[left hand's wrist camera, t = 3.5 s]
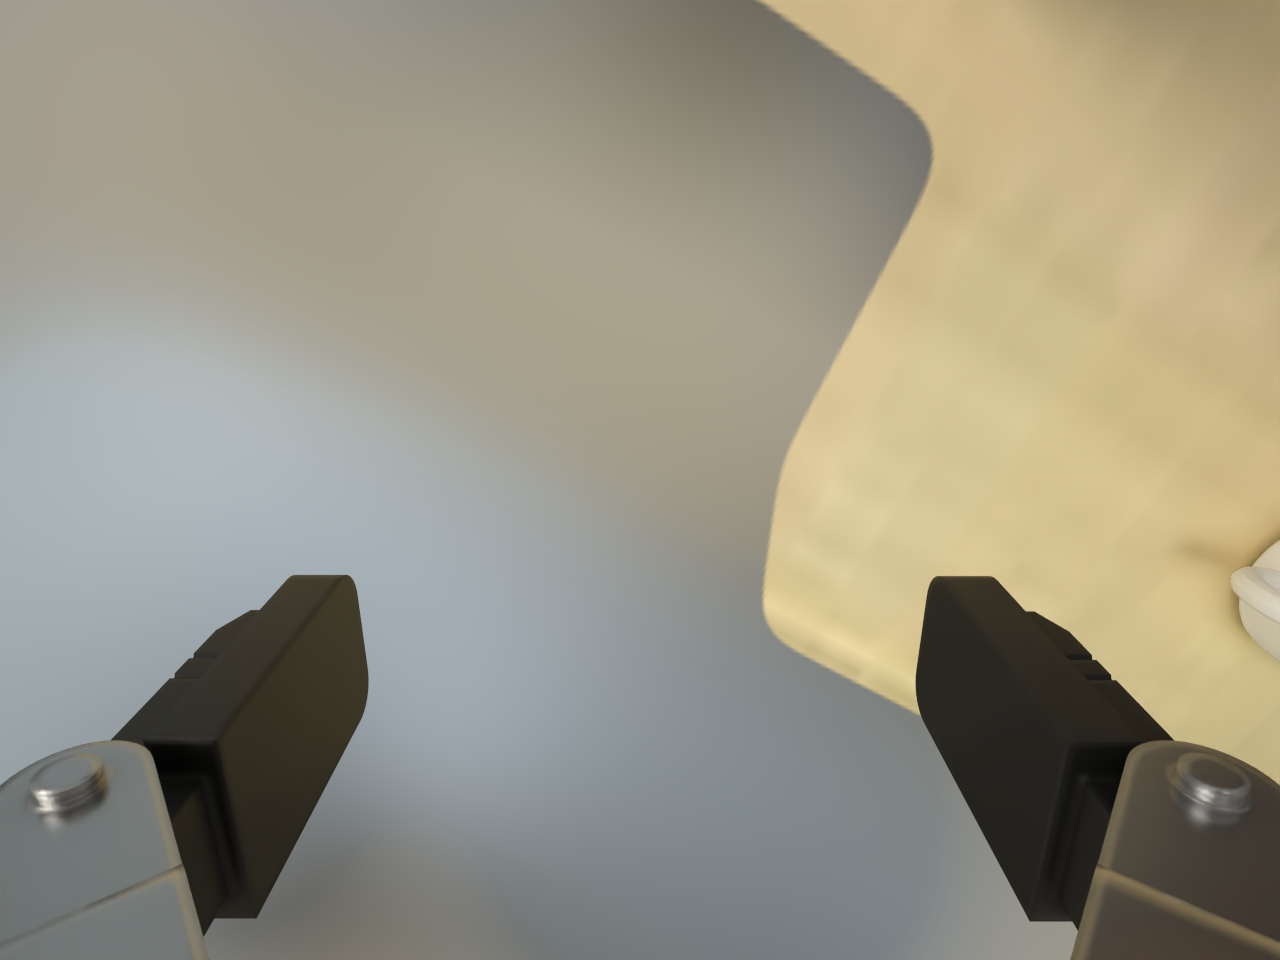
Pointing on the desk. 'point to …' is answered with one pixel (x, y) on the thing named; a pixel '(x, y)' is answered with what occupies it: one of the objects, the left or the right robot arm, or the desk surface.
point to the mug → (1261, 599)
